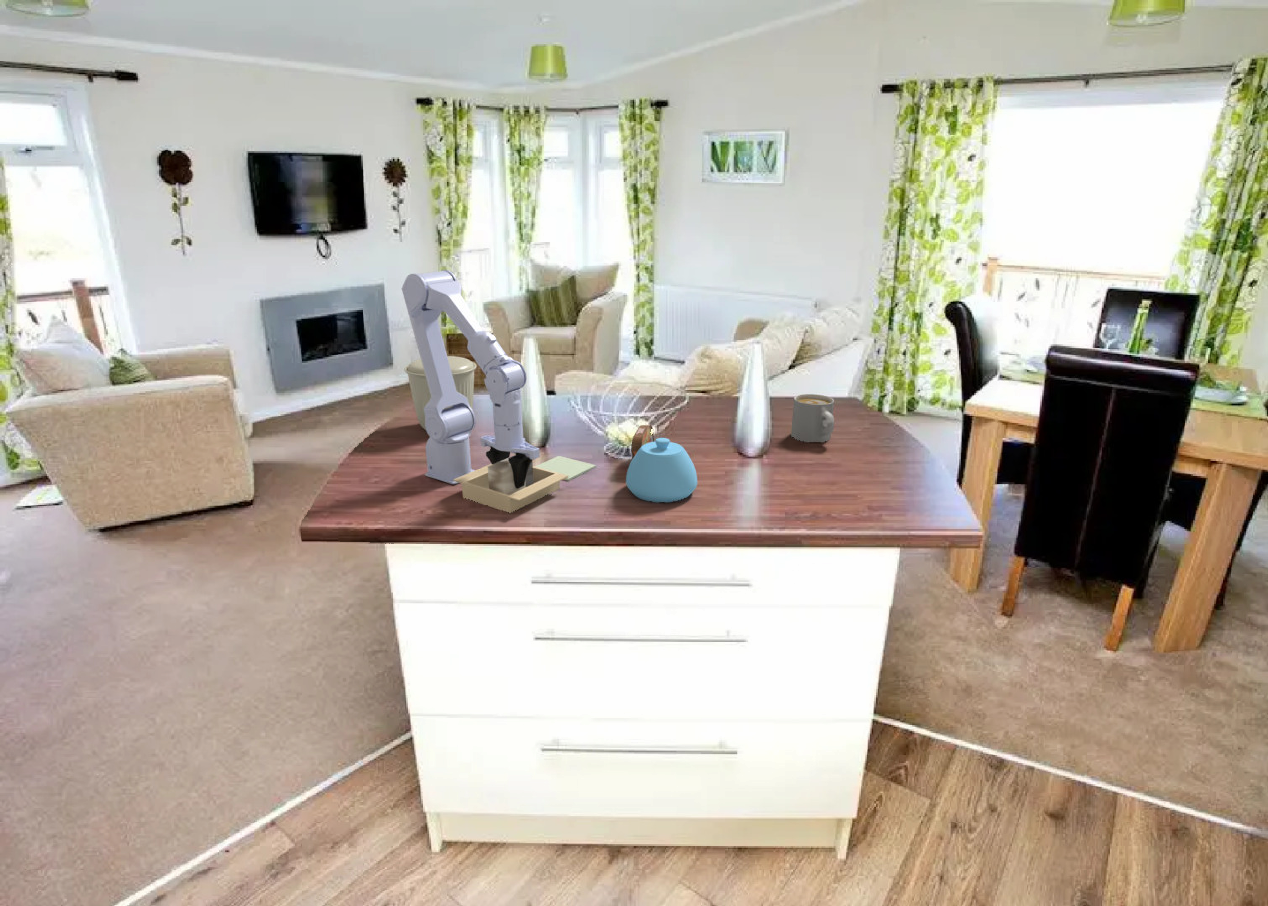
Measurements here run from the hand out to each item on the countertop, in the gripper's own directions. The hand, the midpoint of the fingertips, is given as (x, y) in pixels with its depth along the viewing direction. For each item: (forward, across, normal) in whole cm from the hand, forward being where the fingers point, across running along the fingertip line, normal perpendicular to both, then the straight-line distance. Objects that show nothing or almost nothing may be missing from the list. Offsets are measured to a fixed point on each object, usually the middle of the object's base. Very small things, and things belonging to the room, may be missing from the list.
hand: (511, 484), depth 153 cm
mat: (+2, 0, -17) cm, 17 cm away
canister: (+2, +45, -23) cm, 51 cm away
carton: (+2, 0, 0) cm, 2 cm away
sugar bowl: (+2, -25, -19) cm, 31 cm away
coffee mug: (+2, -39, -70) cm, 80 cm away
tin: (+2, -13, -30) cm, 33 cm away
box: (+2, 0, 0) cm, 2 cm away
